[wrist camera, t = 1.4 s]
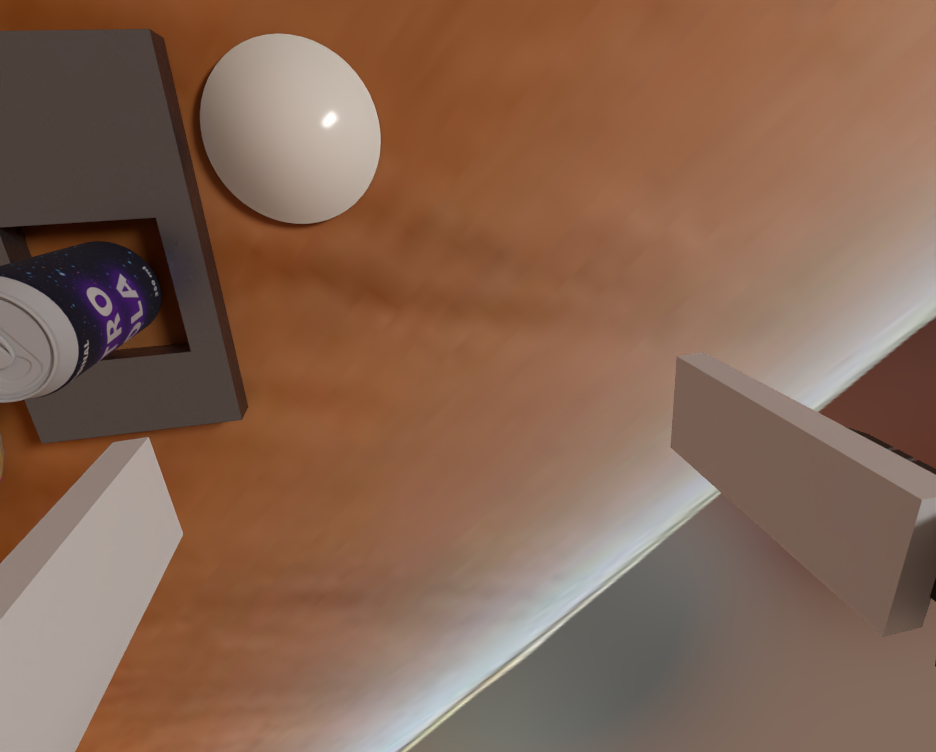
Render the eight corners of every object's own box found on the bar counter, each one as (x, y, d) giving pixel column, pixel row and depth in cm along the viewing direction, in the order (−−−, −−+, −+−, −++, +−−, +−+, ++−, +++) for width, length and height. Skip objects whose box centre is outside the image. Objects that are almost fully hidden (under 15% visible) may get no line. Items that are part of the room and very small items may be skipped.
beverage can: (107, 346, 33) (-19, 433, 22) (40, 266, 31) (-137, 320, 20) (186, 305, 33) (98, 373, 22) (125, 222, 31) (-7, 252, 20)
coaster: (183, 37, 28) (179, 35, 28) (370, 34, 30) (370, 32, 29) (224, 228, 32) (222, 229, 32) (388, 217, 34) (389, 218, 33)
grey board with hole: (-91, 42, 26) (-125, 32, 25) (163, 38, 28) (149, 29, 26) (58, 428, 35) (41, 443, 33) (248, 407, 37) (241, 419, 35)
